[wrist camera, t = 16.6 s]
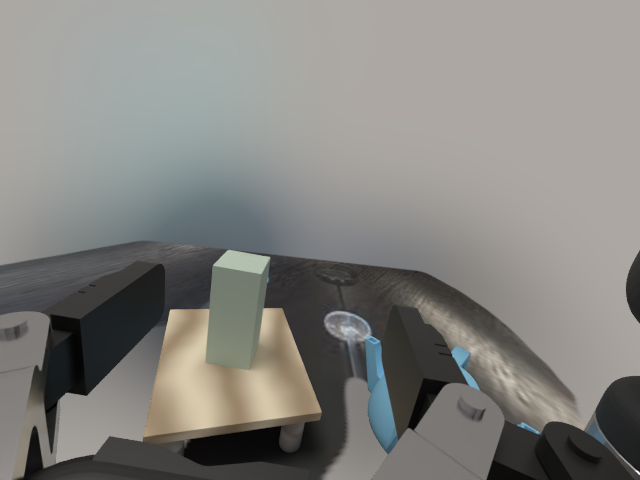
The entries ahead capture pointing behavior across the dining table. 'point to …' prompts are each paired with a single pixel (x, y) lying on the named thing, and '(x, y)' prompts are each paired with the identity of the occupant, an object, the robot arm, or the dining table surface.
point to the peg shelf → (228, 386)
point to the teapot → (379, 397)
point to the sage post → (236, 309)
